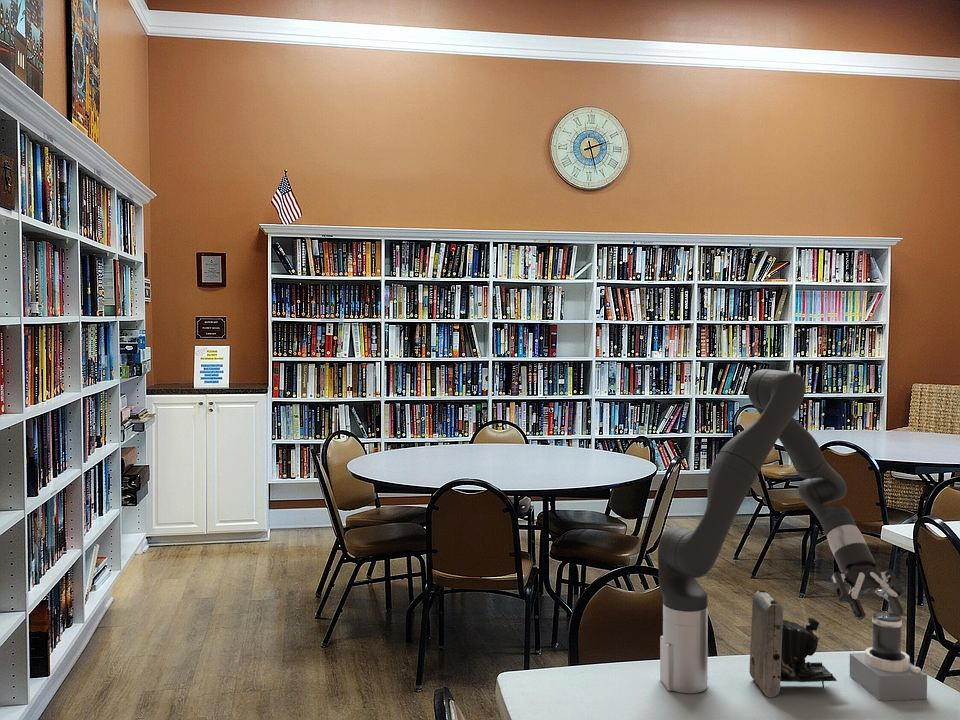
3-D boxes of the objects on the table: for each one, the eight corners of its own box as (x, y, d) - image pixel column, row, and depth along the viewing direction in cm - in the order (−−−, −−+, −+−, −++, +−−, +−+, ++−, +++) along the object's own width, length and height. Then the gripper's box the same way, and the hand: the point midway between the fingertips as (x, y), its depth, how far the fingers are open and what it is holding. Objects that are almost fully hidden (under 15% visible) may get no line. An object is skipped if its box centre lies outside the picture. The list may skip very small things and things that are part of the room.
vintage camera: (838, 701, 167) (842, 604, 167) (762, 698, 168) (766, 601, 167) (819, 682, 177) (823, 590, 177) (747, 679, 177) (751, 587, 177)
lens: (880, 669, 170) (881, 621, 169) (866, 658, 175) (867, 612, 175) (907, 668, 170) (907, 620, 170) (892, 657, 176) (892, 611, 175)
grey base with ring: (879, 700, 166) (879, 666, 166) (849, 676, 178) (849, 644, 178) (926, 699, 167) (927, 665, 167) (894, 674, 179) (894, 643, 179)
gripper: (827, 542, 182) (857, 610, 171) (886, 540, 184) (920, 607, 173) (814, 559, 187) (842, 627, 176) (871, 557, 189) (903, 623, 178)
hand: (881, 617), depth 174 cm, fingers open, 8 cm apart
